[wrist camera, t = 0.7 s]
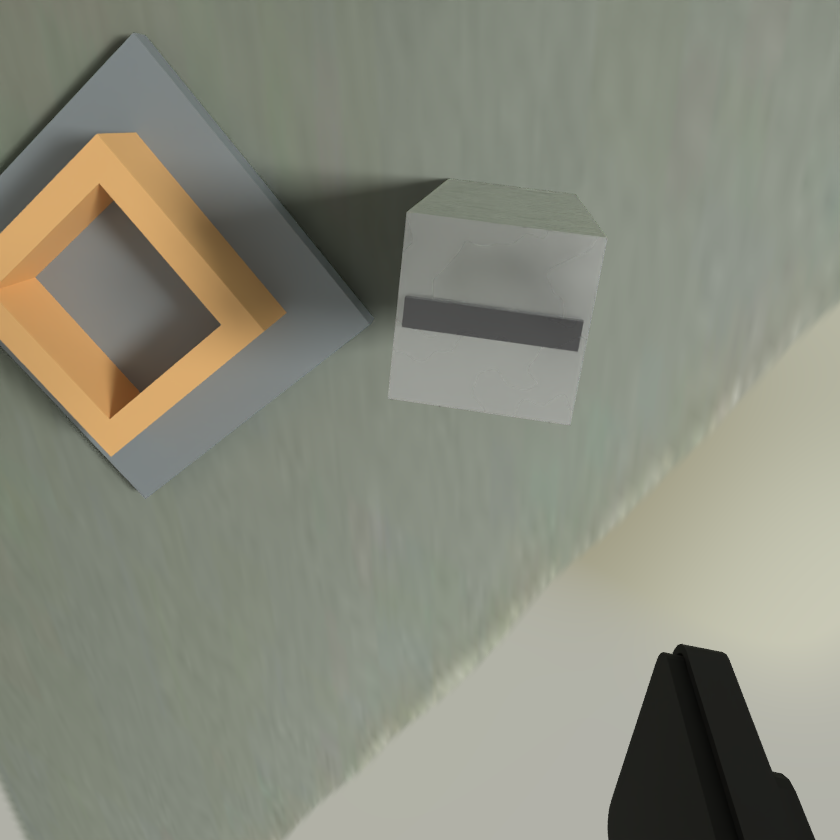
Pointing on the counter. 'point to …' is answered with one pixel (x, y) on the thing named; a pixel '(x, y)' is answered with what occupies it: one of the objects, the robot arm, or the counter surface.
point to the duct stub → (496, 300)
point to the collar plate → (157, 273)
